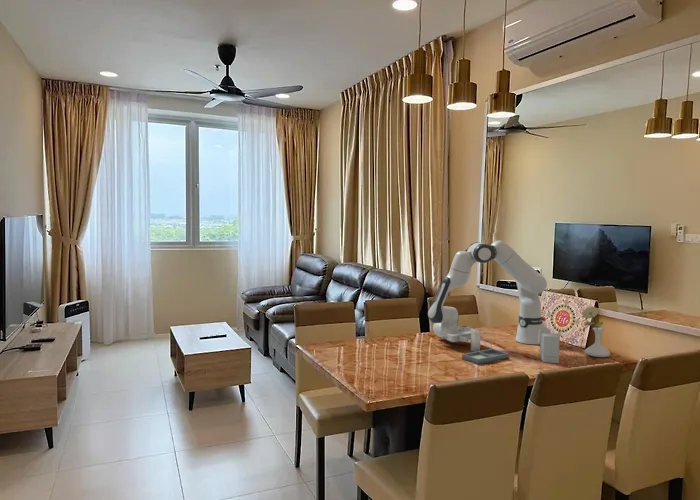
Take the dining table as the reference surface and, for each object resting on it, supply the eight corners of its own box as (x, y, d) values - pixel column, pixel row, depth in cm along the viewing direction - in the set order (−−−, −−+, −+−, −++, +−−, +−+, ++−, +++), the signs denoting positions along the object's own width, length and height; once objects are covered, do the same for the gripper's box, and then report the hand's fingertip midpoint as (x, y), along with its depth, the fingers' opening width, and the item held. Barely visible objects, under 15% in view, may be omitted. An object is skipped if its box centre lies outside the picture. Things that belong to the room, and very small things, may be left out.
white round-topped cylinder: (475, 348, 252) (475, 327, 251) (482, 350, 247) (482, 329, 247) (468, 350, 249) (468, 328, 249) (475, 352, 245) (475, 330, 244)
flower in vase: (608, 354, 242) (609, 305, 240) (612, 360, 231) (613, 308, 230) (579, 351, 246) (580, 303, 245) (582, 357, 235) (584, 307, 234)
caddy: (492, 353, 242) (492, 348, 242) (508, 358, 233) (508, 353, 233) (462, 359, 232) (462, 354, 232) (478, 364, 223) (478, 359, 223)
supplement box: (559, 363, 226) (560, 336, 225) (542, 362, 227) (543, 336, 227) (555, 358, 233) (556, 333, 232) (539, 357, 235) (540, 332, 234)
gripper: (441, 329, 256) (459, 335, 244) (469, 325, 266) (488, 330, 254) (441, 341, 256) (458, 347, 244) (469, 336, 266) (488, 342, 254)
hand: (474, 338), depth 249 cm, fingers open, 8 cm apart
